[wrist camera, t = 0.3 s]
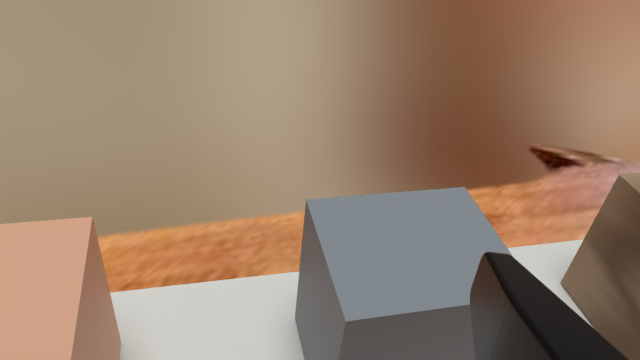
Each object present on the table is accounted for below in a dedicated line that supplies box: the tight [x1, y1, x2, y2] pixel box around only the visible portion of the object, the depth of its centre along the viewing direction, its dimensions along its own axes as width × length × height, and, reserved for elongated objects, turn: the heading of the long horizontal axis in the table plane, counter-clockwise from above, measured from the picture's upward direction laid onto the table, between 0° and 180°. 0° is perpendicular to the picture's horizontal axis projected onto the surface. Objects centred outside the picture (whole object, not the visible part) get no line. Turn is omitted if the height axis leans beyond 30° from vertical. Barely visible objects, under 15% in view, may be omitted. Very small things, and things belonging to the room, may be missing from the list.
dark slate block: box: [295, 187, 513, 360], centre depth 22 cm, size 6×7×8 cm
